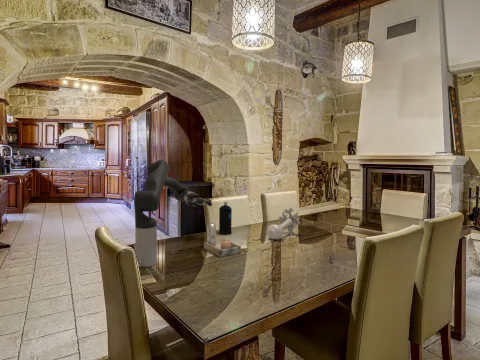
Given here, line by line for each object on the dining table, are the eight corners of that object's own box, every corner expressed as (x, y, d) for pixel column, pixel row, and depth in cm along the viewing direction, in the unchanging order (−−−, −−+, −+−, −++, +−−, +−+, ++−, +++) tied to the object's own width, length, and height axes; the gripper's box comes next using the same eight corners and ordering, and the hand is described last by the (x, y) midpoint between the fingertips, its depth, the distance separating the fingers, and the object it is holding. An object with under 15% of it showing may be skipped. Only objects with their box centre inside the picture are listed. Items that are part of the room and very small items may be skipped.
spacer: (224, 254, 159) (224, 243, 158) (218, 252, 163) (219, 240, 162) (232, 253, 162) (232, 241, 161) (227, 250, 166) (227, 239, 165)
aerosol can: (220, 235, 197) (220, 203, 195) (217, 232, 205) (217, 201, 203) (233, 234, 199) (233, 202, 197) (230, 231, 207) (230, 200, 205)
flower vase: (279, 252, 186) (302, 234, 203) (280, 225, 179) (303, 208, 196) (262, 244, 194) (285, 227, 211) (262, 217, 187) (286, 202, 204)
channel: (219, 257, 155) (219, 250, 155) (204, 248, 168) (204, 242, 168) (240, 253, 162) (240, 246, 162) (223, 245, 175) (224, 239, 175)
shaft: (209, 247, 171) (209, 225, 170) (205, 245, 175) (205, 223, 174) (217, 246, 174) (217, 224, 173) (213, 244, 178) (213, 222, 177)
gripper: (181, 193, 190) (193, 199, 176) (203, 192, 197) (215, 197, 184) (181, 205, 191) (192, 212, 178) (202, 203, 199) (215, 210, 185)
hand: (204, 205), depth 181 cm, fingers open, 8 cm apart
